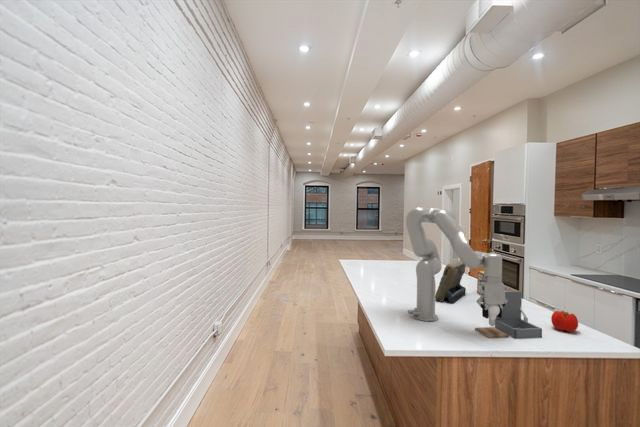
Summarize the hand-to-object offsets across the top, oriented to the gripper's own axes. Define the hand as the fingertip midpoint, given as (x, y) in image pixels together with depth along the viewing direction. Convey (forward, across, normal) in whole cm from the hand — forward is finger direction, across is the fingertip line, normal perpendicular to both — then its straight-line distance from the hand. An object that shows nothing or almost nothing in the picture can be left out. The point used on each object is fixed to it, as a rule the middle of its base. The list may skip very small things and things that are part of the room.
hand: (491, 316), depth 149 cm
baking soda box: (+8, +43, +63) cm, 77 cm away
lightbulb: (+4, 0, 0) cm, 4 cm away
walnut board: (+8, 0, 0) cm, 8 cm away
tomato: (+8, +40, 0) cm, 41 cm away
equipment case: (+8, +14, 0) cm, 16 cm away
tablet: (+8, +16, +59) cm, 62 cm away
